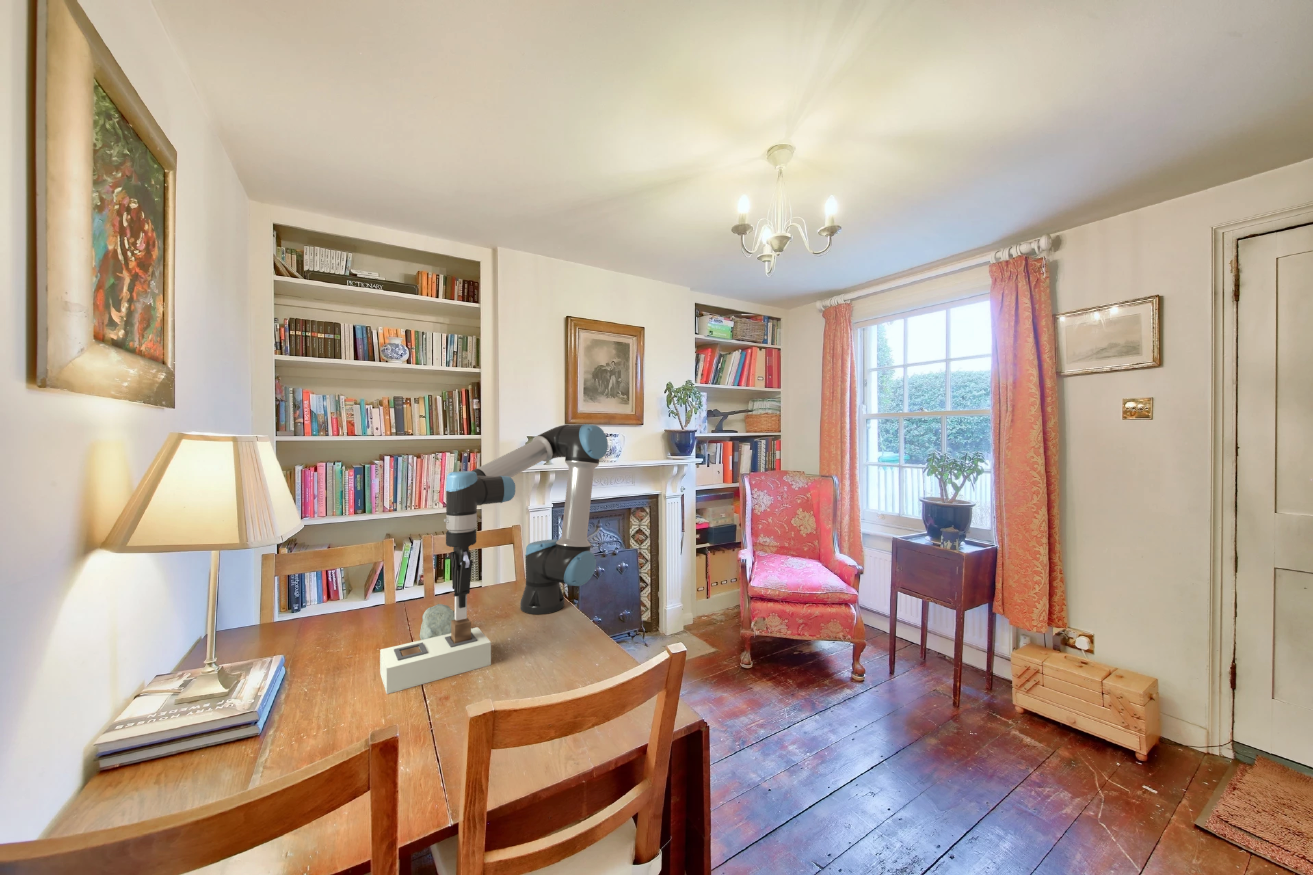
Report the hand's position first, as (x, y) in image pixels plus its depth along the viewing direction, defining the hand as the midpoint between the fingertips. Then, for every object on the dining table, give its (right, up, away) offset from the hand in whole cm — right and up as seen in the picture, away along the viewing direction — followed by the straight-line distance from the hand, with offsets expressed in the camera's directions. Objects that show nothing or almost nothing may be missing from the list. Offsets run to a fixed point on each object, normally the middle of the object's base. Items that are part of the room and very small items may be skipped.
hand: (460, 618), depth 125 cm
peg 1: (-10, -12, -7) cm, 17 cm away
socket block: (-5, -12, -3) cm, 13 cm away
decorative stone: (-12, -12, +13) cm, 22 cm away
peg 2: (0, -7, 0) cm, 7 cm away
